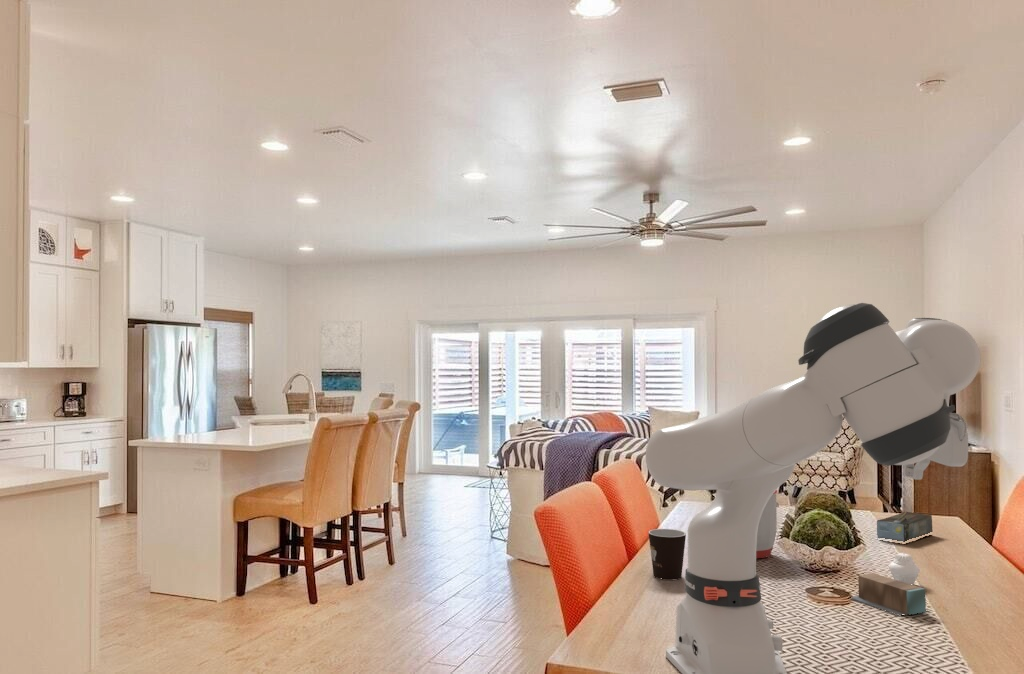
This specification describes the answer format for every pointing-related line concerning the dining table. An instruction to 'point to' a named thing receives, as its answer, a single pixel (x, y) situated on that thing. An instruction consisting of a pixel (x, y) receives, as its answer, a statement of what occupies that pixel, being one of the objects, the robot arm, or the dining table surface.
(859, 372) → the robot arm
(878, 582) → the walnut block
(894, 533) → the beverage carton
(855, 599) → the slate mat
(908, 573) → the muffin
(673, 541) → the coffee mug
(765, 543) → the citrus juicer
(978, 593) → the dining table surface
